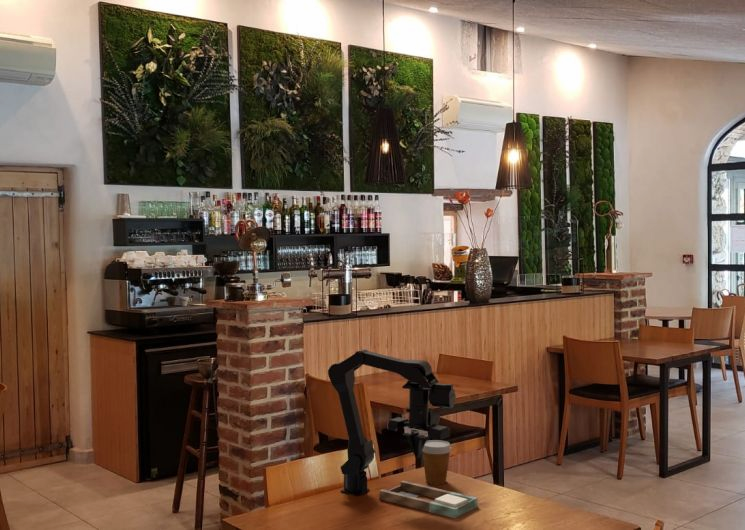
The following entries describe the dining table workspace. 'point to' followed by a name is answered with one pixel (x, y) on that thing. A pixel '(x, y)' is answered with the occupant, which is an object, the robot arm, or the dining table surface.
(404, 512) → the dining table surface
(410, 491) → the box
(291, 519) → the dining table surface
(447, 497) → the ivory block
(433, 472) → the disposable coffee cup
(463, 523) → the dining table surface
